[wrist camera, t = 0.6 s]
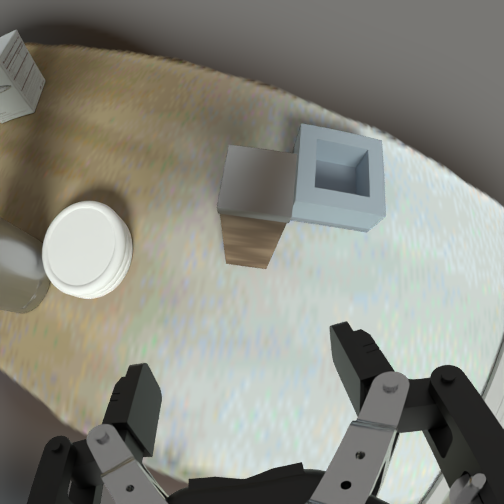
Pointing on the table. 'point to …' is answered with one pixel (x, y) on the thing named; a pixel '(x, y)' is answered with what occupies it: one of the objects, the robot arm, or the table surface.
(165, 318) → the table surface
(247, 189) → the rail post
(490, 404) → the baseboard
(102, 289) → the white round disc
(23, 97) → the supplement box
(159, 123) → the table surface
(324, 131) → the grey square collar
